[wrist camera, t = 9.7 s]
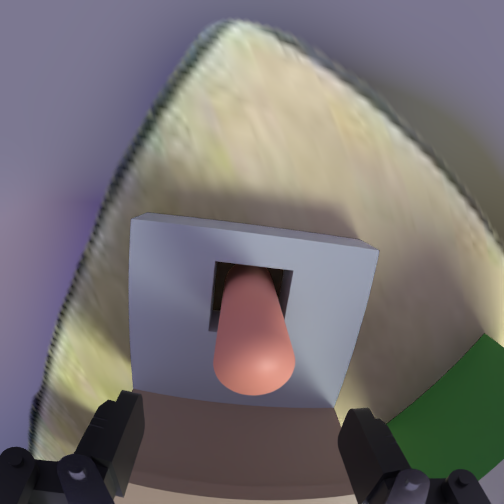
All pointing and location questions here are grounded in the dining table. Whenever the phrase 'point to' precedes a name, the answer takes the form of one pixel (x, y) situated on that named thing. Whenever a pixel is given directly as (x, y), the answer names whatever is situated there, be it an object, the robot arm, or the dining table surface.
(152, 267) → the socket
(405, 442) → the hardback book
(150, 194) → the dining table surface
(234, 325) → the peg
